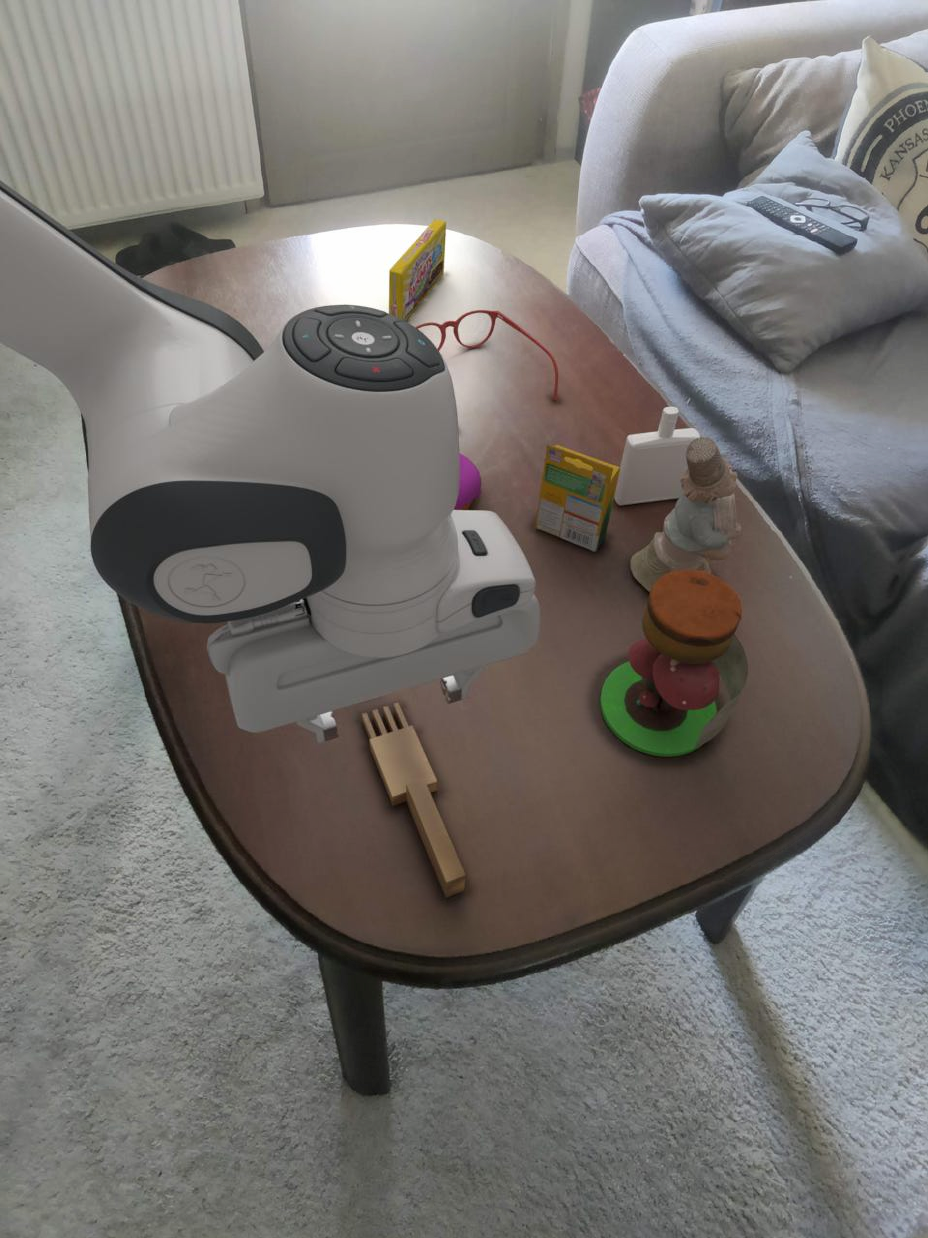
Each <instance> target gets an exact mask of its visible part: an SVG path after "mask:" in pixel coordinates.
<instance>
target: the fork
mask: <svg viewBox="0 0 928 1238" xmlns="http://www.w3.org/2000/svg"><path fill="white" fill-rule="evenodd" d="M371 712H372V720H373V722H374V725H375V727H376V729H377V732H378V734H379V735H378V736H377V734H376V732H375V729H374V727H373V725H372V722H371V719H370V716H369V715H368V712H363V713H361V722H362V724H363V726H364V729H365V731H366V735H367V737H368V741H369V750H370V752H371V755H372V757H373V760H374V762H375V765H376V767H377V770H378V771H379V775H380V777H381V780H382V782H383V785H384V787H385V790H386V792H387V795H388V797H389V800H390V803H391V805H392V806H393V807H394V806H397V805H400V804H403V803H405V802H406V804H407V806H408V809H409V812H410V815H411V816H412V819H413V821H414V823H415V827H416V829H417V832H418V834H419V837H420V838H421V841H422V843H423V846H424V848H425V851H426V853H427V856H428V858H429V861H430V863H431V866H432V868H433V870H434V872H435V874H436V878H437V880H438V883H439V886H440V887H441V890H442V892H443V895H444V898H449V897H452V896H454V895H457V894H460V893H462V892H464V891H465V887H466V872H465V870H464V867H463V865H462V863H461V861H460V858H459V856H458V853H457V852H456V849H455V846H454V844H453V841H452V840H451V837H450V835H449V833H448V831H447V827H446V826H445V823H444V821H443V819H442V817H441V815H440V812H439V809H438V807H437V805H436V803H435V800H434V798H433V795H432V793H435V792H437V791H438V780H437V777H436V775H435V772H434V771H433V769H432V767H431V764H430V762H429V759H428V757H427V755H426V752H425V751H424V748H423V745H422V744H421V741H420V739H419V737H418V734H417V732H416V730H415V727H414V725H409V724H408V721H407V719H406V716H405V714H404V712H403V709H402V707H401V705H400V703H399V702H394V703H393V713H394V716H395V717H396V720H397V722H398V724H399V727H400V728H398V726H397V724H396V721H395V719H394V716H393V714H392V712H391V709H390V707H389V706H388V705H385V706H382V714H383V717H384V719H385V722H386V725H387V726H388V727H387V728H388V730H389V731H390V732H388V731H387V729H386V726H385V724H384V722H383V719H382V717H381V714H380V712H379V709H378V708H375V709H372V711H371Z"/></svg>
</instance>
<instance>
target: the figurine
mask: <svg viewBox="0 0 928 1238" xmlns="http://www.w3.org/2000/svg"><path fill="white" fill-rule="evenodd" d="M686 460H687V465H688V469H687V471H686V472H685V473H684V477H683V478H682V479H681V485H682V488H683V492H682V495H681V497H680V498H677V501H676V502H675V506H674V508H673V509H672V510H671V512H669V513H668V514H667V516H666V517H664V522H663V529H662V532H661V531H657V532H655V533H654V535H653V537H652V539H651V541H649V544H647V545H646V546H645V547H644V548H643V549H641V550H639V551H637V552H636V553H635V554H634V555H632V557H631V559H630V570H631V573H632V575H633V577H634V579H635V580H636V581H637V582H638V583H639V584H641V586H642V587H643V588H644V589H645V590H646V591H647V592H649V593H650V590H651V588H652V587H653V585H654V583H655V582H656V581H657V580H658V579H659V578H660V577H662V576H663V575H665V574H667V573H669V572H672V571H676V570H682V569H692V570H699V571H703V572H707V573H710V574H712V571H711V566H710V563H709V561H707V560H706V558H707V559H710V560H712V561H723V560H726V559H727V558H729V557H730V555H731V552H732V549H731V547H732V545H733V543H732V540H737V539H738V540H739V539H740V537H741V535H742V527H741V526H742V525H741V524H740V523H738V512H737V503H736V497H735V492H736V489H737V483H736V482H737V478H738V476H739V475H738V472H736V471H733V470H732V469H733V465H732V464H730V460H729V459H728V458H726V457H725V456H722V454H721V452H720V449H719V447H718V446H717V444H716V442H715V441H714V440H713V439H712V438H709V437H706V436H700V438H696V439H694V440H693V441H691V442H690V444H689V445H688V447H687V452H686Z"/></svg>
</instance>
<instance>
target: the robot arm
mask: <svg viewBox="0 0 928 1238" xmlns="http://www.w3.org/2000/svg"><path fill="white" fill-rule="evenodd" d="M0 344H1V345H3V346H5V347H6V348H8V349H11V350H12V351H13V352H16V353H17V354H20V355H21V356H23V357H25V358H26V359H28V360H29V361H32V362H33V363H35V364H36V365H39V366H41V367H42V368H44V369H46V370H47V371H49V372H50V373H51V374H53V376H55V377H56V378H57V379H58V380H59V381H60V382H61V383H62V385H63V386H64V387H65V388H66V389H67V391H68V393H69V394H70V395H71V397H72V398H73V400H74V402H75V404H76V405H77V408H78V410H79V412H80V413H81V415H82V418H83V420H84V423H85V426H86V428H87V429H86V431H87V454H88V455H87V457H88V472H87V497H88V499H87V500H88V519H89V520H88V522H89V535H90V536H89V538H90V554H91V559H92V563H93V565H94V567H95V569H96V571H97V573H98V574H99V576H100V577H101V579H102V580H103V581H104V583H106V585H107V586H108V587H109V588H110V589H112V590H113V591H114V592H115V593H116V594H118V595H119V596H120V597H121V598H123V600H126V602H128V603H130V604H131V605H134V606H135V607H137V608H139V609H140V610H144V612H145V611H146V612H147V613H150V614H153V615H155V616H158V617H161V618H164V619H168V620H172V621H176V622H183V623H188V624H189V623H191V624H218V623H219V624H220V623H227V624H225V625H223V626H221V627H219V628H218V629H217V630H215V631H214V632H213V633H211V634H210V635H209V636H208V638H207V643H206V651H207V654H208V657H209V660H210V663H211V665H212V666H213V667H214V669H215V670H216V671H217V672H218V673H220V674H222V675H224V676H225V682H226V686H227V690H228V695H229V700H230V703H231V708H232V711H233V714H234V718H235V722H236V725H237V727H238V728H239V729H240V730H244V731H245V732H249V733H251V734H252V733H253V734H260V733H263V732H267V731H270V730H272V729H277V728H279V727H280V728H281V727H283V726H287V725H290V724H293V723H296V725H297V726H299V727H300V728H303V729H305V730H307V731H309V732H311V733H313V734H314V736H315V739H316V742H317V744H318V745H319V744H322V743H325V742H329V741H331V740H334V739H337V738H340V737H339V730H338V725H337V723H336V719H335V718H334V714H333V712H334V711H337V710H340V709H344V708H347V707H351V706H354V705H358V704H360V703H364V702H368V701H371V700H375V699H377V698H382V697H385V696H388V695H392V694H394V693H398V692H403V691H405V690H408V689H412V688H415V687H418V686H422V685H426V684H428V683H432V682H436V681H439V680H440V682H439V686H440V690H441V692H442V695H444V697H445V702H446V704H448V705H450V704H453V703H457V702H461V701H464V700H467V699H468V698H469V687H471V686H472V685H473V683H475V681H477V679H478V678H479V677H480V676H481V675H482V674H483V672H484V671H485V670H486V666H490V665H493V664H496V663H500V662H503V661H506V660H509V659H510V660H511V659H514V658H517V657H521V656H523V655H526V654H527V653H528V652H529V651H531V650H532V648H534V646H535V645H536V644H537V643H538V642H539V639H540V632H541V606H540V602H539V600H538V598H537V596H536V595H535V591H536V586H537V582H536V579H535V576H534V574H533V571H532V569H531V567H530V564H529V561H528V560H527V557H526V556H525V554H524V551H523V550H522V547H521V546H520V545H519V543H518V541H517V540H516V538H515V537H514V534H513V533H512V532H511V531H510V529H509V528H508V526H507V525H506V524H505V523H504V520H502V519H501V517H500V516H499V515H498V514H497V513H496V512H494V511H491V510H483V509H481V510H479V509H476V510H475V509H474V510H473V509H471V510H470V509H467V510H454V507H455V505H456V502H457V498H458V494H459V481H460V457H459V453H460V430H459V416H458V408H457V400H456V394H455V393H456V392H455V389H454V382H453V379H452V375H451V372H450V369H449V367H448V365H447V362H446V360H445V359H444V357H443V355H442V354H441V351H438V347H436V345H435V344H434V343H433V341H432V340H431V339H430V338H429V337H428V336H426V335H425V333H424V332H422V331H421V330H420V329H417V328H416V326H415V325H413V324H411V322H408V321H407V320H406V321H405V320H403V319H401V318H399V317H396V316H394V315H391V314H389V312H386V311H384V310H381V309H377V308H375V307H370V306H366V305H365V306H363V305H356V304H331V305H330V304H329V305H321V306H316V307H313V308H309V309H306V310H304V311H300V312H299V313H297V314H295V315H294V316H293V317H291V318H290V319H289V320H288V321H287V322H286V323H284V326H283V327H282V329H281V330H280V331H279V333H278V334H277V336H276V338H275V339H274V340H273V342H272V343H271V344H270V345H269V346H268V347H267V349H265V350H264V349H263V347H262V345H261V344H260V343H259V341H258V340H257V339H256V337H255V336H254V334H252V333H251V332H250V331H249V329H248V328H247V327H246V326H244V325H243V324H242V323H241V322H240V321H239V320H237V319H236V318H235V317H233V316H231V315H230V314H228V313H227V312H224V311H223V310H221V309H219V308H217V307H216V306H213V305H211V304H209V303H207V302H205V301H201V300H199V299H196V298H194V297H191V296H188V295H185V294H182V293H179V292H176V291H174V290H171V289H168V288H166V287H162V286H160V285H157V284H155V283H153V282H150V281H148V280H146V279H144V278H141V277H140V276H137V275H136V274H133V273H132V272H130V271H129V270H127V269H125V268H124V267H121V266H120V264H118V263H116V262H114V261H113V260H111V259H110V258H108V257H107V256H106V255H104V254H103V253H101V252H100V251H98V250H97V249H96V248H94V247H93V246H92V245H90V244H89V243H88V242H86V241H85V240H83V239H82V238H81V237H79V236H78V235H77V234H75V233H74V232H72V230H69V229H68V228H67V227H65V226H64V225H62V224H61V223H60V222H59V221H58V220H56V219H55V218H53V216H50V214H47V213H46V212H45V211H43V210H42V209H40V208H39V207H38V206H37V205H35V204H34V203H33V202H31V201H30V200H28V199H27V198H25V197H24V196H23V195H21V194H20V193H19V192H17V191H16V190H15V189H13V188H12V187H10V186H9V185H8V184H6V183H5V182H4V181H2V180H1V179H0Z"/></svg>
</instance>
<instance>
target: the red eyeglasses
mask: <svg viewBox="0 0 928 1238" xmlns="http://www.w3.org/2000/svg"><path fill="white" fill-rule="evenodd" d="M473 314H486V315H488V316H489V318H490V320H491V325H490V329H489V332H488V333H487V335H486V337H485V338H484V339H483V340H482V341H481V342H479V343H477V344H474V345H466V344H464V343H463V342H462V341H461V339H460V334H459V326H460V323H461V322H462V320H463V319H464V318H466V317H468V316H470V315H473ZM497 318H498V319H500V320H501V321H503V322H504V323H505V324H507V325H509V326H510V327H511V328H513V329H514V330H516V331H518V332H519V333H520V334H522V335H523V336H524V337H526V338H528V340H530V341H531V342H533V343H534V344H535V345H536V346H538V348H540V349H541V350H542V351H543V352H544V353H546V355H547V356H548V357H549V358H550V360H551V362H552V365H553V369H554V387H553V388H554V389H553V396H552V399H553V401H554V402H556V401H557V399H558V389H559V368H558V365H557V362H556V359H555V358H554V356H553V354H552V353H551V352H550V351H549V350H548V349H547V348H546V347H545V346H544V345H543V344H542V343H540V342H539V341H538V340H537V339H536V338H534V337H533V336H532V335H530V333H528V332H527V331H525V330H524V328H522V327H521V326H520V325H519V324H517V323H516V322H515V321H513V320H512V319H511V318H509V317H508V316H506V315H505V314H503V313H502V312H501V311H499V310H489V309H476V310H470V311H468V312H465V313H463V314H461V316H459V317H458V318H457V319H456V320H447V321H444V322H443V323H441V324H440V323H437V322H424V323H421V324H419V325H416V326H415V327H416V328H417V329H418V330H420V329H421V328H423V327H427V326H434V327H436V328H438V329H439V331H440V334H441V335H440V337H441V338H440V342H439V344H438V347H437V349H438V351H439V352H441V349H442V348H443V346H444V344H445V341H446V339H447V328H448V327H452V331H453V335H454V337H455V339H456V341H457V343H459V345H460V346H462V347H465V348H466V349H476V348H478V347H481V346H483V345H484V344H485V343H486V342H488V340H489V339H490V338H491V336H492V335H493V332H494V329H495V326H496V320H497Z"/></svg>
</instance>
